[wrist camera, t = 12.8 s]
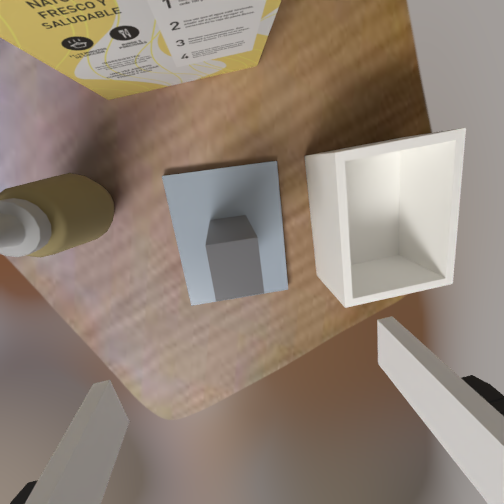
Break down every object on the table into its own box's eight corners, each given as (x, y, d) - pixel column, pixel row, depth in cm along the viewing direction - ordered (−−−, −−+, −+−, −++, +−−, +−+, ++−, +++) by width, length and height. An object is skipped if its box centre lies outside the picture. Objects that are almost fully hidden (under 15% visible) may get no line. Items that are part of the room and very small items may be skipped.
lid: (163, 175, 35) (132, 181, 22) (275, 161, 36) (304, 158, 23) (192, 301, 41) (180, 361, 28) (286, 286, 42) (314, 337, 29)
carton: (304, 155, 36) (334, 152, 26) (402, 137, 36) (466, 127, 27) (316, 275, 42) (345, 307, 32) (400, 257, 42) (452, 283, 33)
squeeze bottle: (63, 162, 33) (-106, 159, 16) (130, 186, 34) (43, 207, 17) (52, 222, 35) (-109, 277, 18) (116, 242, 36) (25, 310, 19)
